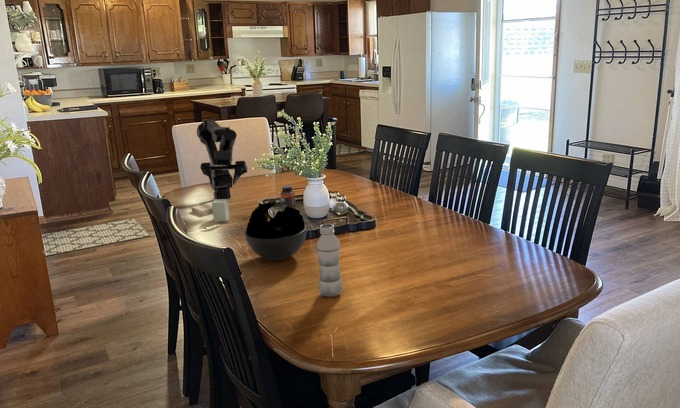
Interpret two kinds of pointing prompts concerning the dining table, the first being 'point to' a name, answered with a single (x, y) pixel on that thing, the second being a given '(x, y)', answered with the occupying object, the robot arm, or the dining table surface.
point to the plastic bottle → (329, 262)
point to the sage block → (220, 210)
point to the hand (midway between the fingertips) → (222, 185)
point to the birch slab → (203, 209)
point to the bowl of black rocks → (275, 232)
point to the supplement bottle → (288, 197)
